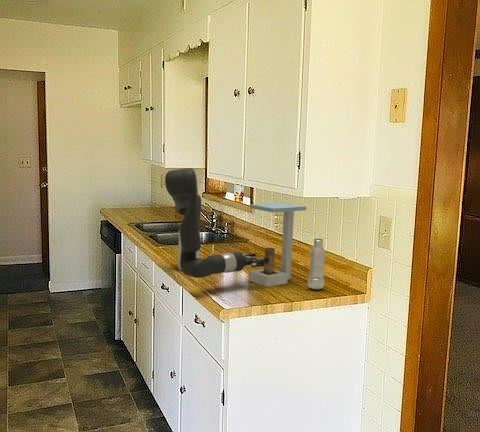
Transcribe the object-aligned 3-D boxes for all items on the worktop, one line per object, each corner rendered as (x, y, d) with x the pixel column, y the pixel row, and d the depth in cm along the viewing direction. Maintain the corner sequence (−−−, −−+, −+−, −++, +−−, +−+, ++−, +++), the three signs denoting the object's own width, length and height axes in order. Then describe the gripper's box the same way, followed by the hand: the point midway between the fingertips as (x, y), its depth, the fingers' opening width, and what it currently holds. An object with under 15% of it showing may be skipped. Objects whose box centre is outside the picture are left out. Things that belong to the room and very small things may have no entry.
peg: (262, 280, 216) (263, 247, 215) (271, 280, 217) (273, 247, 215) (264, 283, 213) (266, 249, 211) (274, 283, 214) (275, 249, 212)
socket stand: (269, 287, 206) (272, 208, 202) (247, 279, 217) (250, 204, 213) (302, 281, 217) (306, 206, 213) (279, 274, 228) (283, 202, 224)
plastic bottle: (320, 286, 211) (323, 237, 208) (326, 291, 204) (329, 241, 202) (305, 286, 210) (307, 237, 207) (310, 291, 203) (313, 240, 200)
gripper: (241, 256, 195) (274, 252, 205) (219, 249, 206) (251, 245, 216) (240, 276, 196) (273, 270, 206) (218, 268, 207) (250, 263, 217)
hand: (261, 258), depth 211 cm, fingers open, 8 cm apart
